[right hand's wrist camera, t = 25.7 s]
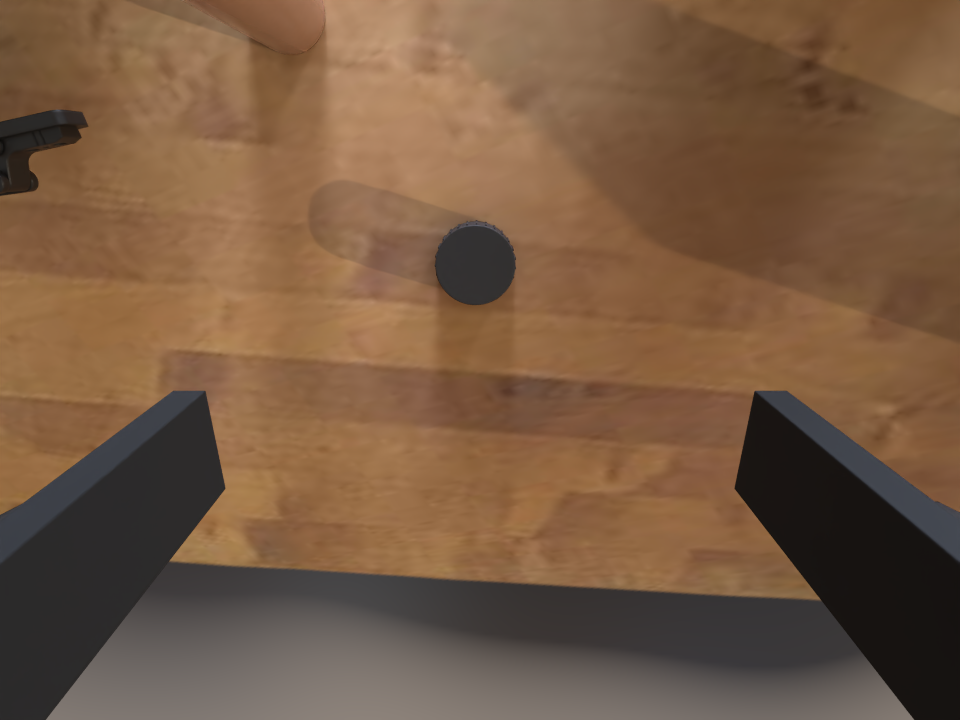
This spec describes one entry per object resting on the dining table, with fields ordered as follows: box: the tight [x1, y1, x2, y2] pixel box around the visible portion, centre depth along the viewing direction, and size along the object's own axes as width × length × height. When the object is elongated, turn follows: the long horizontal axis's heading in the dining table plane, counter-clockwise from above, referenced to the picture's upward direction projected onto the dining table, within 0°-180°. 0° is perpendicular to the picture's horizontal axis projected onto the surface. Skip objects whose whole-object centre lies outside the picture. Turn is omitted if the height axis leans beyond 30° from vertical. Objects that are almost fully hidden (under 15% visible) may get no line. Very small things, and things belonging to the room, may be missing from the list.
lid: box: [435, 220, 516, 305], centre depth 36 cm, size 6×6×2 cm
